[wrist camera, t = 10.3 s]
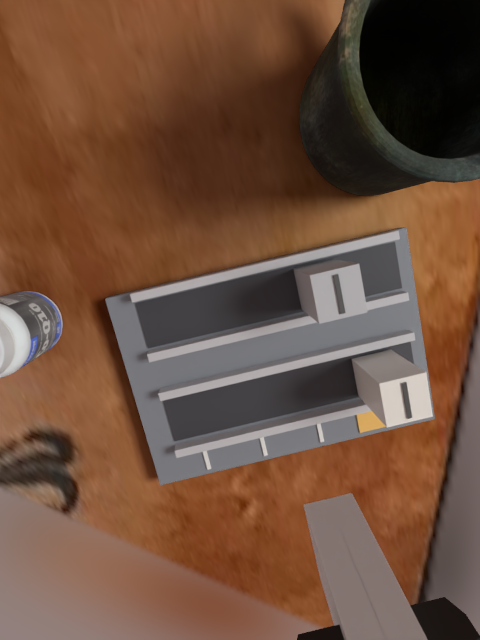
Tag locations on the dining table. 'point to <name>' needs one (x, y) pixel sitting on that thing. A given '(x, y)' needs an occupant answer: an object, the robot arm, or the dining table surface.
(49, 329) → the pill bottle
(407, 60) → the mug
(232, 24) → the dining table surface
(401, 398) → the fader cap
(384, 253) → the console
